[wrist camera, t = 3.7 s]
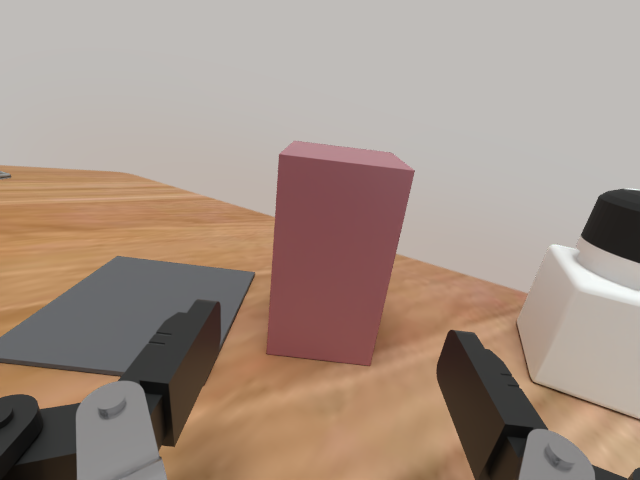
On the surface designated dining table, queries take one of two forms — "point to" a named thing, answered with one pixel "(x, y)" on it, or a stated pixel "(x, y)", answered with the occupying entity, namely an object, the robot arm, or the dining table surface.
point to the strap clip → (4, 175)
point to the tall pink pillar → (334, 249)
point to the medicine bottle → (590, 310)
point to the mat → (119, 314)
